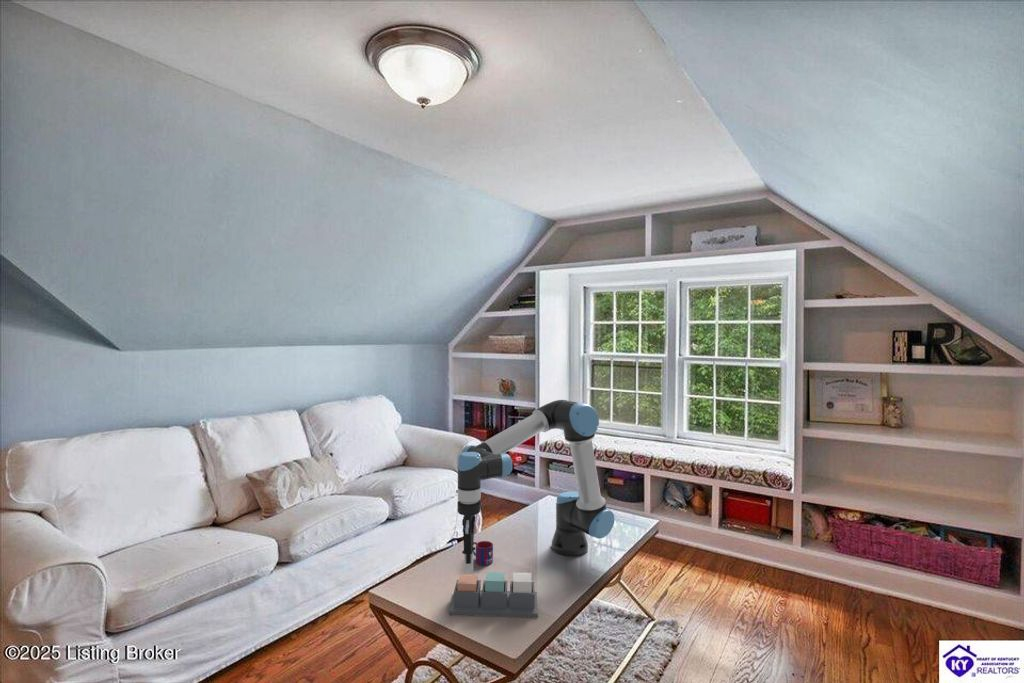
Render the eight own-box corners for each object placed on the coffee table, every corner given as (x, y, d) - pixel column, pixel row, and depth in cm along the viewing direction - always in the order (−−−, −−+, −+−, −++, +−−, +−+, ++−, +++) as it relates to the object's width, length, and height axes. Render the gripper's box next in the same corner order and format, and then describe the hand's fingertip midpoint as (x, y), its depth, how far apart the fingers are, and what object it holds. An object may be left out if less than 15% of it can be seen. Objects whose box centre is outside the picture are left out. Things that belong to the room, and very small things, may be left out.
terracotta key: (477, 590, 161) (477, 574, 161) (475, 600, 155) (475, 584, 155) (459, 589, 161) (459, 574, 161) (457, 599, 155) (457, 583, 155)
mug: (483, 567, 183) (484, 549, 183) (466, 559, 190) (466, 541, 190) (496, 561, 188) (496, 544, 188) (479, 553, 195) (479, 537, 195)
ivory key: (531, 588, 161) (531, 572, 161) (531, 598, 155) (531, 582, 155) (513, 587, 161) (513, 572, 161) (512, 597, 155) (513, 581, 155)
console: (536, 595, 164) (536, 577, 164) (537, 617, 151) (538, 598, 151) (454, 593, 165) (455, 575, 165) (449, 615, 152) (449, 596, 152)
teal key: (504, 587, 161) (504, 572, 161) (503, 597, 155) (503, 581, 155) (486, 587, 161) (486, 571, 161) (485, 596, 155) (485, 580, 155)
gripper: (460, 493, 164) (459, 561, 165) (454, 507, 151) (454, 581, 152) (482, 493, 164) (481, 562, 165) (478, 507, 151) (478, 581, 152)
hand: (468, 571), depth 158 cm, fingers closed
